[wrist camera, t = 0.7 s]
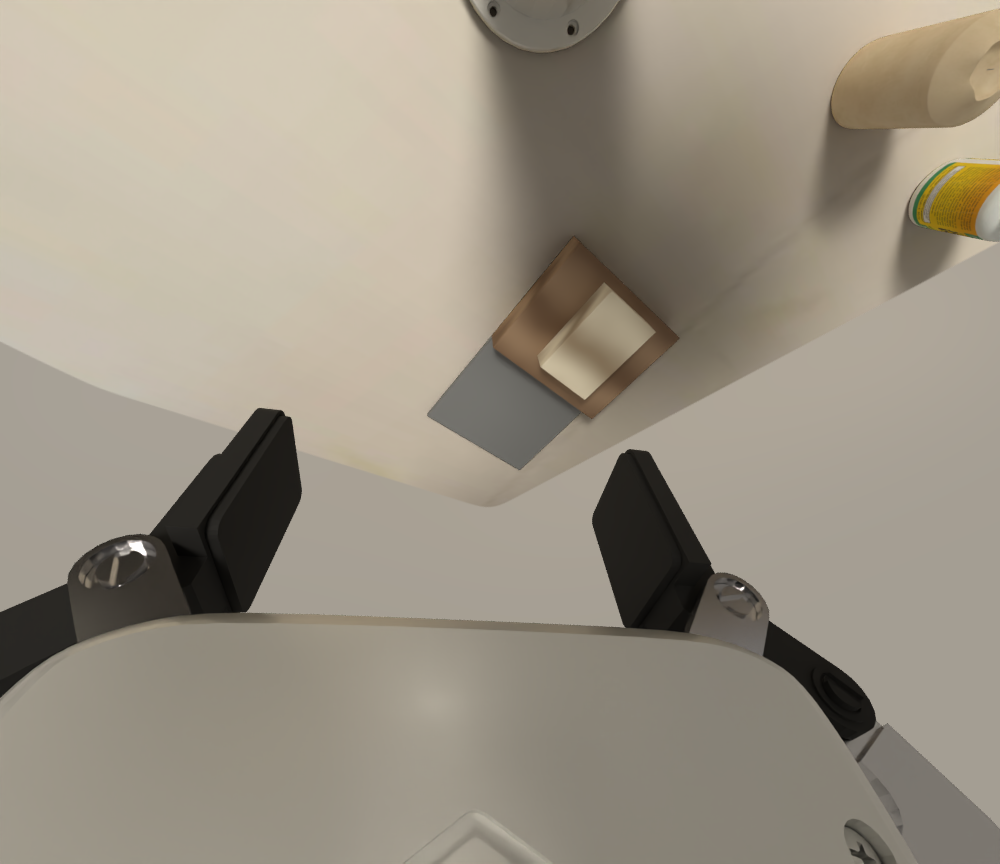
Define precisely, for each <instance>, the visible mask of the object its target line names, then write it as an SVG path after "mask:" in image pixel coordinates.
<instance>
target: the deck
mask: <svg viewBox="0 0 1000 864" xmlns="http://www.w3.org/2000/svg"><path fill="white" fill-rule="evenodd" d="M603 283H605V284H607V285H608V286H609V287H610V288H611V289H612V290H613V291H614V292H615V293H616V294H617V295H618V296H619V297H620V298H621V299H623V300H624V301H625V302H626V303H627V304H628V305H629V306H630V307H631V308H632V309H633V310H634V311H635V312H636V313H637V314H638V315H640V316H641V317H642V318H643V319H644V320H645V321H646V322H647V323H648V324H649V325H650V326H651V327H652V328H653V329H654V330H655V332H656V333H654V334H653V335H652V336H651V337H650V338H649V339H648V340H647V341H646V342H645V343H644V344H643V345H642V346H641V347H640V348H639V349H638V350H637V351H636V352H635V353H634V354H632V355H631V356H630V357H629V358H628V359H627V360H626V361H625V362H624V363H623V364H622V365H621V366H620V367H619V368H618V369H617V370H616V371H615V372H614V373H613V374H612V375H610V376H609V377H608V378H607V379H606V380H605V381H604V382H603V383H602V384H601V385H600V386H599V387H598V388H597V389H596V390H595V391H594V392H593V393H592V394H591V395H590V396H588V397H587V398H586V399H585V400H584V399H583V398H581V397H580V396H579V395H577V394H576V393H575V392H573V391H572V390H571V389H569V388H568V387H567V386H565V385H564V384H563V383H561V382H560V381H559V380H557V379H556V378H555V377H553V376H552V375H551V374H549V373H548V372H547V371H545V370H544V369H543V368H541V367H540V363H539V360H538V357H537V355H538V354H539V353H540V352H541V351H542V350H543V349H544V348H545V347H546V345H547V344H548V343H549V342H550V341H551V340H552V339H553V338H554V337H555V336H556V335H557V333H558V332H559V331H560V330H561V329H562V328H563V327H564V326H565V325H566V324H567V322H568V321H569V320H570V319H571V318H572V317H573V316H574V315H575V314H576V313H577V311H578V310H579V309H580V308H581V307H582V306H583V305H584V304H585V303H586V302H587V301H588V299H589V298H590V297H591V296H592V295H593V294H594V293H595V292H596V291H597V290H598V288H599V287H600V286H601V285H602V284H603ZM679 339H680V338H679V337H678V336H677V335H676V334H675V333H674V332H673V331H672V330H671V329H670V328H669V327H668V326H667V325H666V324H665V323H664V322H663V321H662V320H661V319H660V318H658V317H657V316H656V315H655V314H654V313H653V312H652V311H651V310H650V309H649V308H648V307H647V306H646V305H645V304H644V303H643V302H642V301H641V300H640V299H639V298H638V297H637V296H636V295H635V294H634V293H633V292H632V291H630V290H629V289H628V288H627V287H626V286H625V285H624V284H623V283H622V282H621V281H620V280H619V279H618V278H617V277H616V276H615V275H614V274H613V273H612V272H611V271H610V270H609V269H608V268H607V267H606V266H605V265H604V264H602V263H601V262H600V261H599V260H598V259H597V258H596V257H595V256H594V255H593V254H592V253H591V252H590V251H589V250H588V249H587V248H586V247H585V246H584V245H583V244H582V243H581V242H580V241H579V240H578V239H577V238H576V237H575V236H573V238H572V239H571V240H570V241H569V242H568V244H567V245H566V246H565V247H564V248H563V250H562V251H561V252H560V253H559V255H558V256H557V257H556V258H555V259H554V261H553V262H552V263H551V264H550V265H549V267H548V268H547V269H546V270H545V272H544V273H543V274H542V275H541V276H540V278H539V279H538V280H537V281H536V282H535V284H534V285H533V286H532V287H531V289H530V290H529V291H528V292H527V293H526V295H525V296H524V297H523V298H522V299H521V301H520V302H519V303H518V304H517V306H516V307H515V308H514V309H513V310H512V312H511V313H510V314H509V315H508V317H507V318H506V319H505V320H504V321H503V323H502V324H501V325H500V326H499V327H498V329H497V330H496V331H495V332H494V334H493V335H492V342H493V348H494V349H496V350H497V351H498V352H500V353H501V354H503V355H504V356H505V357H507V358H508V359H509V360H511V361H512V362H514V363H515V364H516V365H518V366H519V367H520V368H522V369H523V370H525V371H526V372H527V373H529V374H530V375H532V376H533V377H534V378H536V379H537V380H538V381H540V382H541V383H543V384H544V385H545V386H547V387H548V388H549V389H551V390H552V391H554V392H555V393H556V394H558V395H559V396H561V397H562V398H563V399H565V400H566V401H567V402H569V403H570V404H572V405H573V406H574V407H576V408H577V409H578V410H580V411H581V412H583V413H584V414H585V415H587V416H588V417H590V418H591V419H592V418H594V417H595V416H596V415H597V414H598V413H599V412H600V411H601V410H602V409H603V408H604V407H606V406H607V405H608V404H609V403H610V402H611V401H612V400H613V399H614V398H615V397H616V396H618V395H619V394H620V393H621V392H622V391H623V390H624V389H625V388H626V387H627V386H628V385H630V384H631V383H632V382H633V381H634V380H635V379H636V378H637V377H638V376H639V375H640V374H642V373H643V372H644V371H645V370H646V369H647V368H648V367H649V366H650V365H651V364H652V363H653V362H655V361H656V360H657V359H658V358H659V357H660V356H661V355H662V354H663V353H664V352H665V351H667V350H668V349H669V348H670V347H671V346H672V345H673V344H674V343H675V342H676V341H677V340H679Z"/></svg>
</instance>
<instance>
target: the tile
mask: <svg viewBox="0 0 1000 864" xmlns="http://www.w3.org/2000/svg"><path fill="white" fill-rule="evenodd" d="M654 333H656V332H655V330H654V329H653V328H652V327H651V326H650V325H649V324H648V323H647V322H646V321H645V320H644V319H643V318H642V317H641V316H640V315H638V314H637V313H636V312H635V311H634V310H633V309H632V308H631V307H630V306H629V305H628V304H627V303H626V302H625V301H624V300H623V299H621V298H620V297H619V296H618V295H617V294H616V293H615V292H614V291H613V290H612V289H611V288H610V287H609V286H608V285H607V284H605V283H603V284H602V285H601V286H600V287H599V288H598V290H597V291H596V292H595V293H594V294H593V295H592V296H591V297H590V298H589V299H588V301H587V302H586V303H585V304H584V305H583V306H582V307H581V308H580V309H579V310H578V311H577V313H576V314H575V315H574V316H573V317H572V318H571V319H570V320H569V321H568V322H567V324H566V325H565V326H564V327H563V328H562V329H561V330H560V331H559V332H558V333H557V335H556V336H555V337H554V338H553V339H552V340H551V341H550V342H549V343H548V344H547V345H546V347H545V348H544V349H543V350H542V351H541V352H540V353H539V354H538V355H537V357H538V360H539V363H540V367H541V368H543V369H544V370H545V371H547V372H548V373H549V374H551V375H552V376H553V377H555V378H556V379H557V380H559V381H560V382H561V383H563V384H564V385H565V386H567V387H568V388H569V389H571V390H572V391H573V392H575V393H576V394H577V395H579V396H580V397H581V398H583V399H584V400H585V399H586V398H587V397H588V396H590V395H591V394H592V393H593V392H594V391H595V390H596V389H597V388H598V387H599V386H600V385H601V384H602V383H603V382H604V381H605V380H606V379H607V378H608V377H609V376H610V375H612V374H613V373H614V372H615V371H616V370H617V369H618V368H619V367H620V366H621V365H622V364H623V363H624V362H625V361H626V360H627V359H628V358H629V357H630V356H631V355H632V354H634V353H635V352H636V351H637V350H638V349H639V348H640V347H641V346H642V345H643V344H644V343H645V342H646V341H647V340H648V339H649V338H650V337H651V336H652V335H653V334H654Z"/></svg>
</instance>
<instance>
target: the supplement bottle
mask: <svg viewBox="0 0 1000 864" xmlns="http://www.w3.org/2000/svg"><path fill="white" fill-rule="evenodd" d="M909 217H910V219H911V221H912V222H913V223H914V224H915V225H917V226H919V227H923V228H928V229H933V230H938V231H942V232H949V233H952V234H957V235H962V236H967V237H971V238H976V239H981V240H986V241H993V242H999V241H1000V160H994V159H976V158H960V159H955V160H952V161H949V162H947V163H945V164H943V165H941V166H939V167H938V168H937V169H935V170H934V171H933V172H932V173H930V174H929V175H928V176H927V177H926V178H925V179H924V180H923V181H922V182H921V183H920V185H919V186H918V187H917V189H916V190H915V192H914V193H913V196H912V198H911V200H910V204H909Z"/></svg>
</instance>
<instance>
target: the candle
mask: <svg viewBox="0 0 1000 864" xmlns="http://www.w3.org/2000/svg"><path fill="white" fill-rule="evenodd" d="M999 98H1000V9H995V10H991V11H987V12H983V13H979V14H975V15H971V16H967V17H963V18H958V19H954V20H950V21H946V22H942V23H938V24H934V25H930V26H926V27H921V28H917V29H913V30H909V31H905V32H901V33H897V34H893V35H889V36H886V37H882V38H879V39H877V40H875V41H873V42H871V43H869V44H867V45H866V46H864V47H863V48H862V49H860V50H859V51H858V52H857V53H856V54H855V55H854V56H853V57H852V58H851V59H850V60H849V62H848V63H847V64H846V66H845V67H844V69H843V70H842V72H841V74H840V75H839V77H838V79H837V82H836V84H835V87H834V90H833V94H832V99H831V110H832V115H833V117H834V119H835V121H836V122H837V123H838V124H839V125H840V126H842V127H845V128H848V129H895V128H944V127H956V126H959V125H963V124H965V123H967V122H969V121H971V120H973V119H975V118H976V117H978V116H980V115H981V114H982V113H984V112H985V111H986V110H988V109H989V108H990V107H991V106H992V105H993V104H994V103H995V102H996V101H997V100H998V99H999Z"/></svg>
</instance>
